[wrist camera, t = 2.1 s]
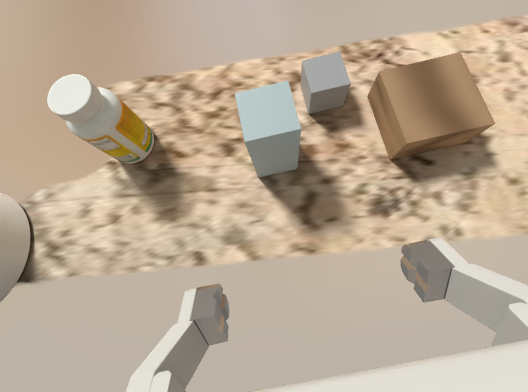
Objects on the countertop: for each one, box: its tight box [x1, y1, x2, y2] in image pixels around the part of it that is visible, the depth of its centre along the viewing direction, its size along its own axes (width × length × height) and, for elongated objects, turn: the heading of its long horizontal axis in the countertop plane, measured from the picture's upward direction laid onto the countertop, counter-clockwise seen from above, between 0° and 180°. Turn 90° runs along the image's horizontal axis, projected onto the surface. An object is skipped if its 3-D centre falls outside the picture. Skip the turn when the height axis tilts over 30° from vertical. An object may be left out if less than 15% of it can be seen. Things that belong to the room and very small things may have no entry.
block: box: [301, 52, 350, 114], centre depth 28 cm, size 4×4×4 cm
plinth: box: [368, 52, 495, 160], centre depth 26 cm, size 8×8×4 cm
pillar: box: [235, 81, 301, 178], centre depth 24 cm, size 4×4×9 cm
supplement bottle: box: [47, 74, 154, 163], centre depth 26 cm, size 5×5×10 cm
